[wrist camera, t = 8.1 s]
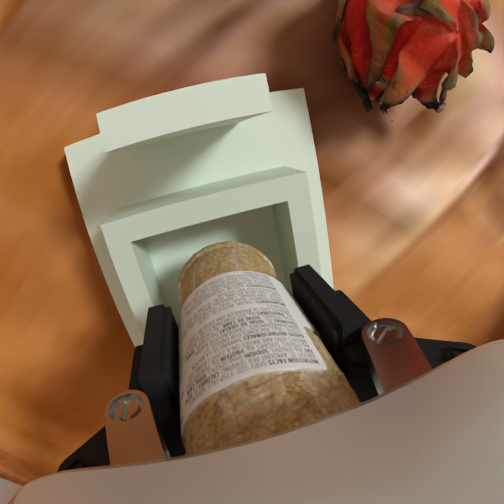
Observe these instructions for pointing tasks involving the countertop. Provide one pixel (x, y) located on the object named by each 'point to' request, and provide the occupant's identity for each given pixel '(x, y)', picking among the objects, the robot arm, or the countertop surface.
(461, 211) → the countertop surface
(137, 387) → the robot arm
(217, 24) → the countertop surface
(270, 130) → the caddy
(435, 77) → the dragon fruit
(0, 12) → the countertop surface
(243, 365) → the sprinkles bottle
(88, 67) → the countertop surface
